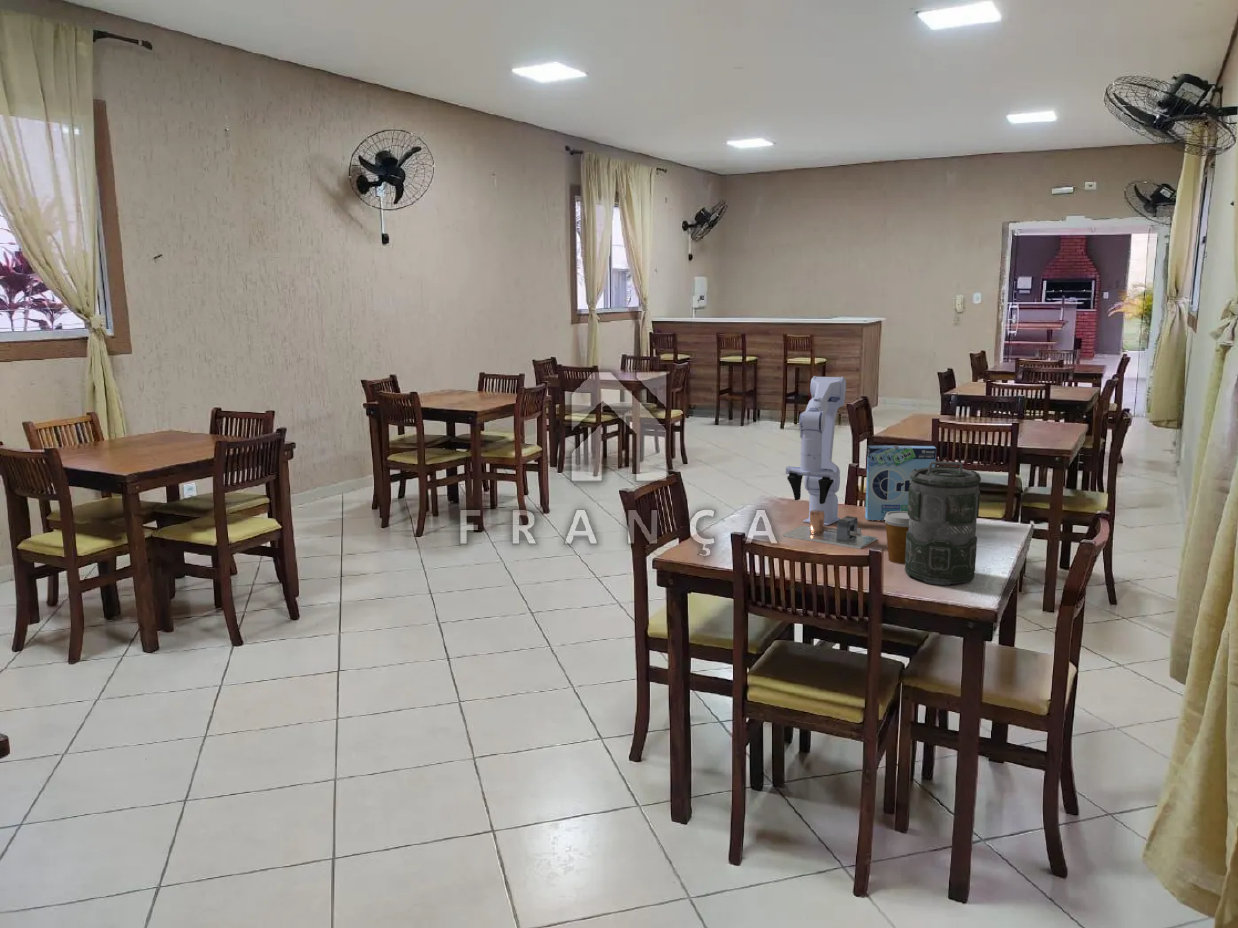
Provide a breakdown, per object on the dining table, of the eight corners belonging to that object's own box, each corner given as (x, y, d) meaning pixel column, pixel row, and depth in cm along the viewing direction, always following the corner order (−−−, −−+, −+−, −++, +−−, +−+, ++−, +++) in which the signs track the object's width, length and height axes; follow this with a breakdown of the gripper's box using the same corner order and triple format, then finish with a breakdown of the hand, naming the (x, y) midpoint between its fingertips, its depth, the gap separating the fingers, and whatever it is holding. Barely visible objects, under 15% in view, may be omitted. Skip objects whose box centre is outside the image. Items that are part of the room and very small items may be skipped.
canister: (909, 584, 199) (915, 467, 194) (900, 565, 215) (905, 455, 210) (981, 588, 196) (989, 468, 192) (966, 568, 212) (973, 457, 207)
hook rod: (807, 532, 243) (807, 512, 242) (813, 530, 246) (813, 509, 245) (857, 541, 234) (858, 519, 233) (863, 537, 237) (864, 516, 236)
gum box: (929, 519, 262) (933, 445, 258) (933, 523, 257) (937, 448, 253) (864, 517, 265) (867, 444, 261) (866, 521, 260) (869, 447, 256)
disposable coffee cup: (920, 556, 222) (923, 511, 220) (920, 567, 213) (923, 520, 211) (882, 553, 225) (884, 509, 223) (881, 563, 216) (883, 517, 214)
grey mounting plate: (801, 527, 253) (802, 507, 252) (877, 539, 239) (878, 518, 238) (783, 536, 244) (783, 515, 242) (860, 548, 230) (861, 526, 229)
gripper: (781, 453, 240) (779, 500, 242) (829, 458, 231) (827, 507, 233) (792, 450, 245) (791, 496, 248) (840, 455, 236) (838, 502, 239)
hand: (809, 501), depth 241 cm, fingers open, 7 cm apart
